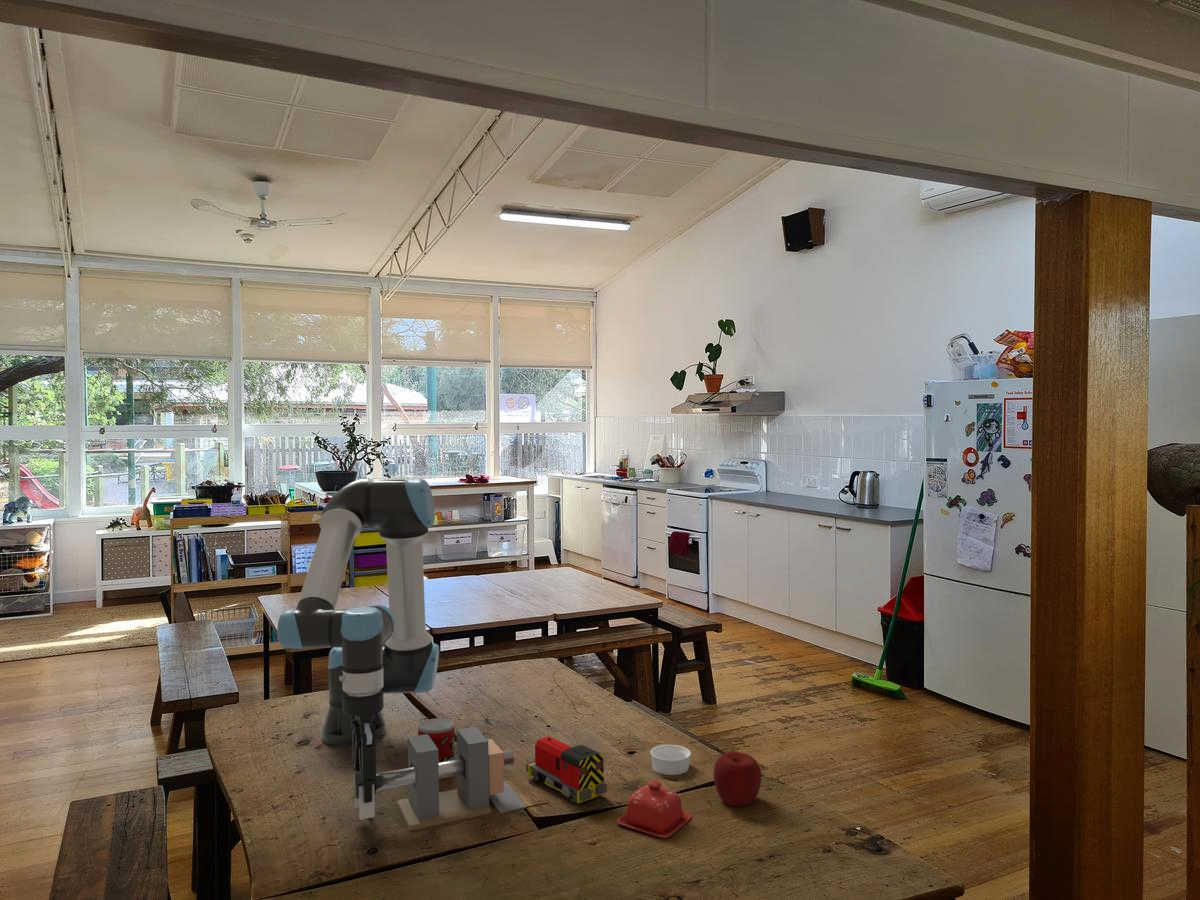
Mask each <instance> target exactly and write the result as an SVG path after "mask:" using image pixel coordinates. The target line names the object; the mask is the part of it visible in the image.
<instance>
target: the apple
mask: <svg viewBox="0 0 1200 900" xmlns="http://www.w3.org/2000/svg"><path fill="white" fill-rule="evenodd" d="M713 782H714V786H715V790H716V792H717V794H718V796H719V799H721V801H722V803H723V804H725V805H727V806H731V807H739V808H741V807H745V806H749V805H751V804H752V803H753V802H754V801H755V800H756V798H757V797H758V795H759V791H760V788H761V785H762V769H761V766H760V764H759V763H758V761H757V760H756V759H755V758H754V757H752V756H751V755H749V754H747V753H744V752H739V751H728V752H727V751H726V752H724V753H722V754H721V755H720V756H719V757H717V759H716V761H715V764H714V768H713Z"/></svg>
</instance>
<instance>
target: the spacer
mask: <svg viewBox="0 0 1200 900" xmlns="http://www.w3.org/2000/svg"><path fill="white" fill-rule="evenodd" d="M487 740H488V750H489V795H491V794H497V793H502V792H504V780H505V775H504V773H505V772H504V769H505V767H504V753H503V751H504V750H502V749H501V748H500V747H499V746H498V745H497V744H496V743H495V741H494V740H493V739H492V738H490V739H487Z"/></svg>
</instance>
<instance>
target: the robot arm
mask: <svg viewBox="0 0 1200 900" xmlns="http://www.w3.org/2000/svg"><path fill="white" fill-rule="evenodd" d="M435 519H436V517H435V504H434V497H433V492H432V489H431V487H430V484H429V483H428V482H427V480H425V479H424V478H412V477H389V478H383V477H382V478H365V477H364V478H361V479H357V480H354V481H352V482H349V483H347V484H346V485H344V486H343V487H342V488H340V489H339V490H338V491H337V492H336V493H334V494H333V495H332V496H331V498H330V499H329V500H328V502H327V503H326V504H325V506H324V508H323V509H322V512H321V514H320V517H319V523H318V525H319V527H320V533H319V536H318V539H317V542H316V545H315V548H314V552H313V554H312V557H311V560H310V564H309V568H308V570H307V573H306V576H305V580H304V583H303V585H302V589H301V591H300V595H299V598H298V601H297V605H296V607H295V609H292V608H291V610H290V609H289V610H284V611H283V612H281V614H280V615H279V618H278V622H277V628H276V629H277V631H276V632H277V638H278V643H279V645H281V646H282V648H286V649H301V650H302V649H316V648H317V649H318V648H319V649H320V648H331V649H330V651H329V653H328V665H327V669H328V703H329V704H328V705H329V706H328V710H327V713H326V717H325V720H324V721H323V722H324V723H323V727H322V729H321V730H322V732H321V738H322V742H324V743H325V744H328V745H330V746H335V747H352V761H351V762H352V763H351V764H352V765H353V770H354V772H359V771H360V783H356V786H357V787H359V799H355V798H354V807H355V809H356V808H358V810H359V811H358V813H359V814H358V815H359V816H358V817H359V818H358V819H359V820H360V821H361V820H366V819H371V818H375V817H376V814H375V813H376V811H375V810H376V809H375V808H376V807H375V806H376V805H375V797H376V794H374V784H376V782H377V779H376V773H377V740H379V739H381V738H382V737H383V736H385V734H386V732H387V730H386V728H387V726H386V721H385V718H384V716H383V712H382V711H383V709H384V706H385V705H384V704H385V703H384V694H415V695H416V694H417V693H418V694H419V693H427V692H430V691H431V690H433V688H434V685H435V682H436V678H437V671H438V665H439V657H440V646H439V644H436V642H435V643H433V637H432V635H431V634H430V633H429V632H428V631H427V630H426V607H425V605H426V603H425V599H426V598H425V581H424V580H425V577H424V576H425V575H424V572H425V571H424V552H423V549H424V548H423V540H424V538H425V537H426V536H427V535H428V534H429V528H431V527H433V526H434V524H435ZM363 528H378V535H379V537H380V538H381V539H383V540H384V541H385V546H386V567H387V571H386V572H387V591H388V592H387V593H388V595H387V596H388V607H387V606H385V605H382V604H373V605H369V606H362V607H354V608H351V609H349V608H347V609H345V608H343V609H336V606H337V603H338V598H339V595H340V591H341V588H342V584H343V581H344V577H345V573H346V570H347V566H348V562H349V560H350V559H349V558H350V556H351V552H352V548H353V545H354V542H355V538H356V537H358V536H359V535H360V533H361V532H362V529H363Z"/></svg>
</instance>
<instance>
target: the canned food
mask: <svg viewBox="0 0 1200 900" xmlns="http://www.w3.org/2000/svg"><path fill="white" fill-rule="evenodd" d="M425 734H428V735H429V737H430V738H431V740H432V741H433V743H434V744H435V745H436V747H437V748H438V762H445V761H451V760H456V756H455V755H456V753H455V752H456V750H455V748H456V745H455V744H456V742H455V741H456V740H455V739H456V737H455V735H456V734H455V722H454V721H453V720H451V719H448V718H443V717H442V718H440V717H439V718H437V717H436V718H430V719H425V720H423V721H421V722H419V723H418V728H417V736H419V735H425ZM446 778H448V777H446ZM446 778H445V779H446ZM441 779H444V778H441ZM441 779H440V780H441Z"/></svg>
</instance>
